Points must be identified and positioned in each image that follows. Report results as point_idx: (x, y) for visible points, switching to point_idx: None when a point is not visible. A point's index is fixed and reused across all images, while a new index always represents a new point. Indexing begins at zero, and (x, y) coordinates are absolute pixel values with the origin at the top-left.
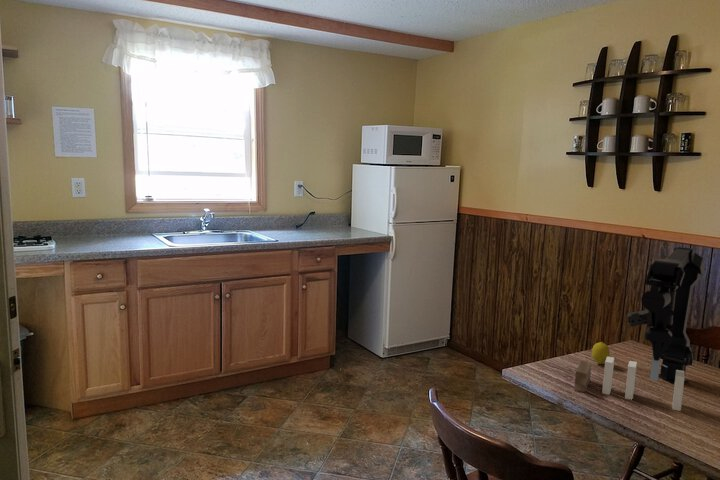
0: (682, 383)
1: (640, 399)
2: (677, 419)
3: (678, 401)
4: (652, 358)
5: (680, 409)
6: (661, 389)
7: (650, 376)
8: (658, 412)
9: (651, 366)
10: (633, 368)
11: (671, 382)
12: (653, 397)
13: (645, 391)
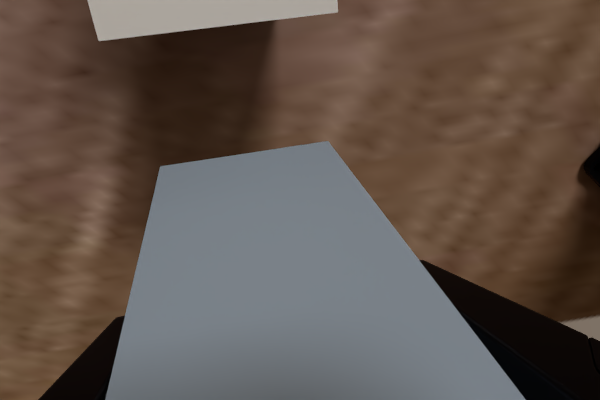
0: None
1: (209, 57)
2: (78, 277)
3: None
4: (130, 300)
5: None
6: (463, 133)
7: (159, 181)
8: (87, 186)
9: (148, 232)
10: (93, 12)
11: (587, 162)
12: (304, 119)
13: (373, 59)
